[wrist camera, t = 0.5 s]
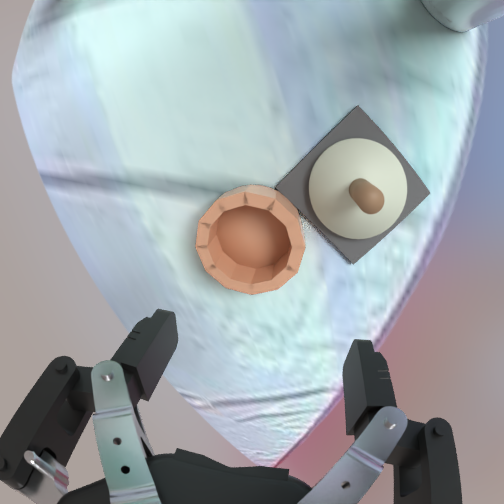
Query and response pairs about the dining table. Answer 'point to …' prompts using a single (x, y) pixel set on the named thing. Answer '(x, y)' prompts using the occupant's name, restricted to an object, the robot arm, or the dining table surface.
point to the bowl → (251, 239)
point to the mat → (298, 178)
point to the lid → (357, 188)
